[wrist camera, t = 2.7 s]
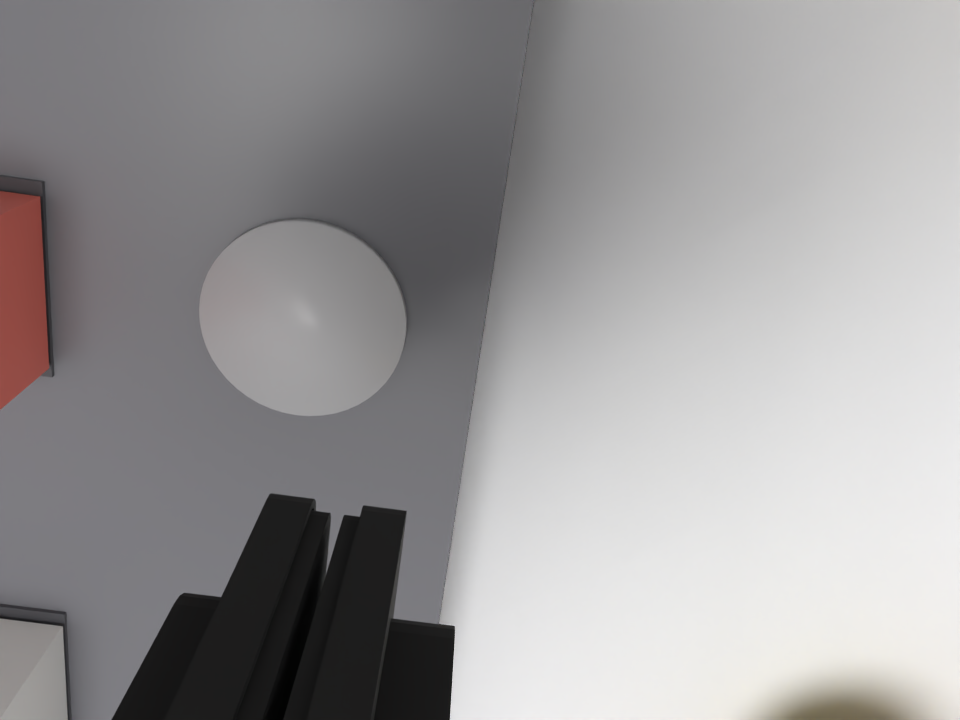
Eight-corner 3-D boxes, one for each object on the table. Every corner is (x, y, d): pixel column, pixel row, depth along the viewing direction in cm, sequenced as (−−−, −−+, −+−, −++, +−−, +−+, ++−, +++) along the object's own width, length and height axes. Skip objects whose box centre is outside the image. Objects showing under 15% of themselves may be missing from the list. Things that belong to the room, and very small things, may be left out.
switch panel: (-359, -719, 14) (-632, -944, 11) (610, -550, 15) (644, -712, 12) (-128, 693, 26) (-225, 802, 23) (413, 759, 27) (400, 876, 23)
